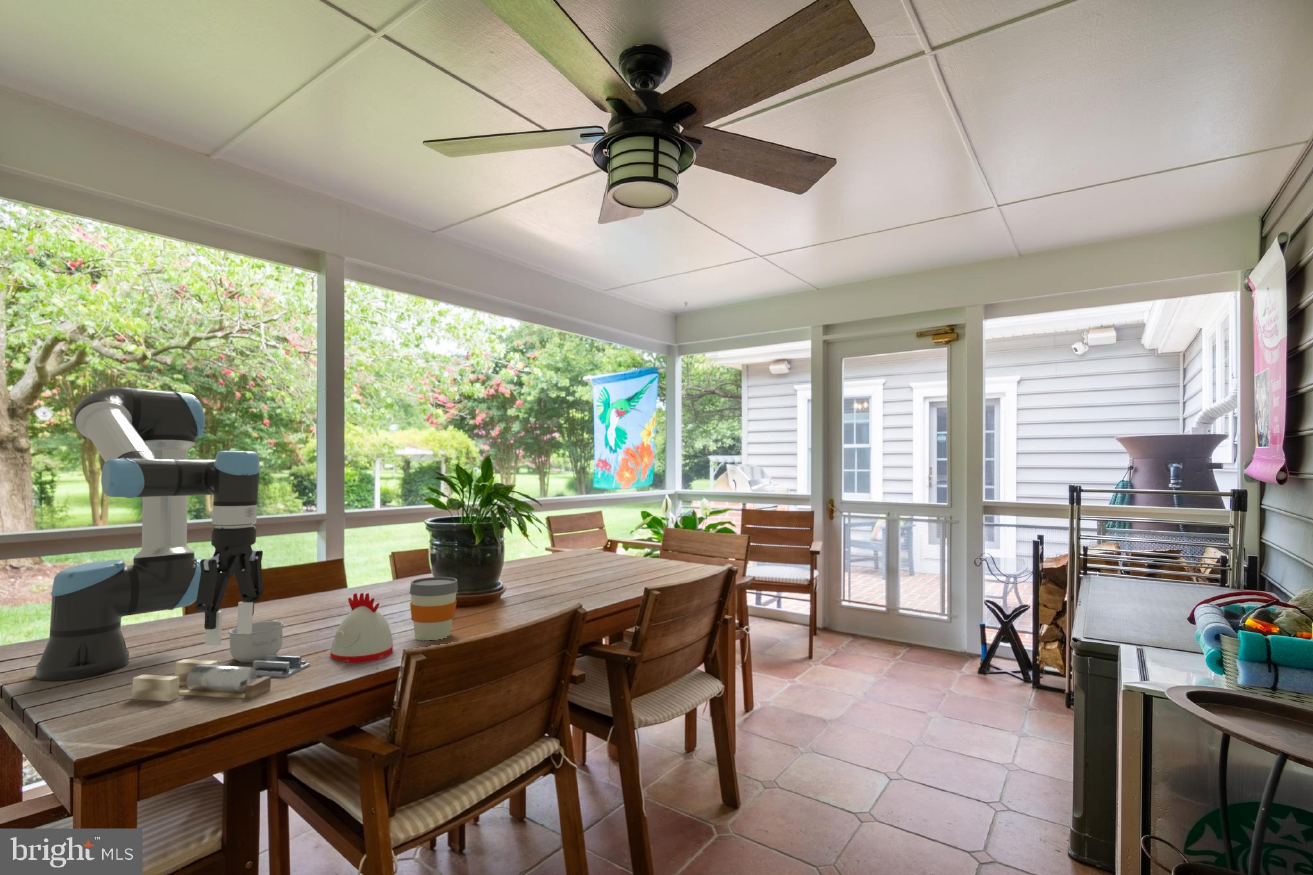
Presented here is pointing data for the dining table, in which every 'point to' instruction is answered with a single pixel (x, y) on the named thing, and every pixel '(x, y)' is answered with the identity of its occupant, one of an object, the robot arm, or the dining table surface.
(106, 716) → the dining table surface
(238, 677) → the axle
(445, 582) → the reusable coffee cup
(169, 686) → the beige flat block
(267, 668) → the v block
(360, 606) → the kitchen timer
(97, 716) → the dining table surface
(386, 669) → the dining table surface
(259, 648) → the teacup
